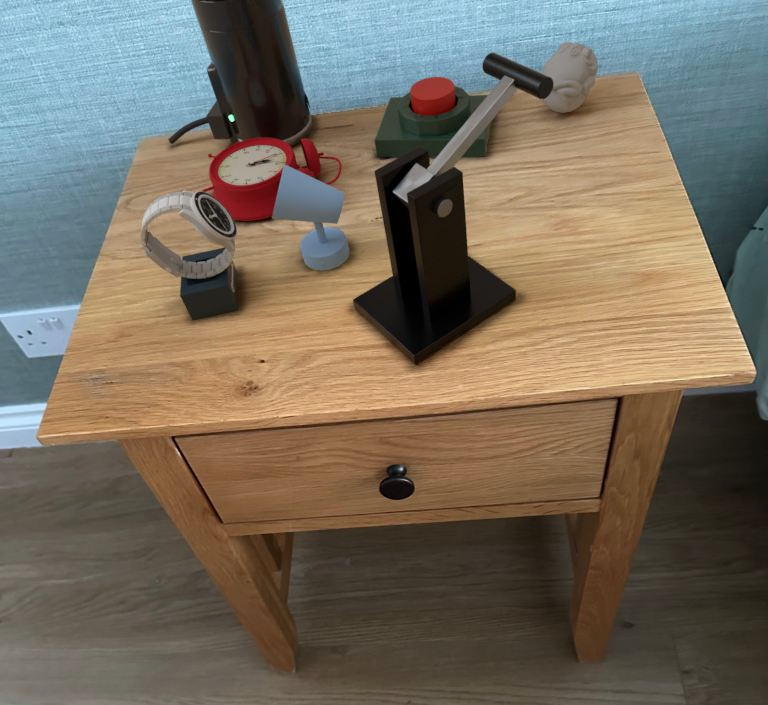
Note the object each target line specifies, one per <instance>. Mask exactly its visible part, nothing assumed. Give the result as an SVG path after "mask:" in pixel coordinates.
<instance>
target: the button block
mask: <svg viewBox="0 0 768 705" xmlns="http://www.w3.org/2000/svg"><path fill="white" fill-rule="evenodd" d="M454 86H455V100H456V104H455V106H454V108H452V109H451V110H450V111H449V112H445V113H442V114H439V115H420V114H417V113H415V112H414V111H413V110H412V104H411V95H410V91H409V92H408V93H406V94H404V95H403V96H401V97H400V96H397V97H396V96H395V97H393V96H392V97H390V98H389V101H388V103H387V106H386V108H385V111H384V114H383V117H382V120H381V122H380V124H379V127H378V130H377V133H376V135H375V138H374V145H375V151H376V157H377V158H399V157H401V156H403V155H405V154H407V153H408V152H410V151H412V150H414V149H416V148H418V147H420V146H421V147H423V148H425V149H426V150H428V151H429V158H436V157H437V156H438V155H439V154H440V152H441V151H442V150H443V149H444V148H445V146H446V145H447V144H448V143H449V142H450V140H451V139H452V138H453V137H454V136H455V134H456V133H457V132H458V131H459V129H460V128H461V127H462V126H463V125H464V123H465V122H466V121H467V120H468V119H469V117H470V116H471V115H472V114H473V113H474V111H475V110H476V109H477V108H478V107H479V105H480V104H481V103H482V102H483V101H484V99H485V98H486V97H487V96H488V95H489V94H476V95H475V94H473V95H469V94H468V93H467V91H466V90H464V88H462V87H459V86H456V85H454ZM492 123H493V120H492V121H491V122H490V123H489V124H488V126H487V127H486V128H485V129H484V130H483V132H482V133H481V134H480V135H479V136H478V138H477V139H476V140H475V141H474V142H473V144H472V145H471V146H470V147H469V148H468V150H467V151H466V152H465V153H464V154H463V156H462V157H461V158H485V157H486V154H487V150H488V149H487V148H488V143H489V138H490V133H491V127H492Z"/></svg>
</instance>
